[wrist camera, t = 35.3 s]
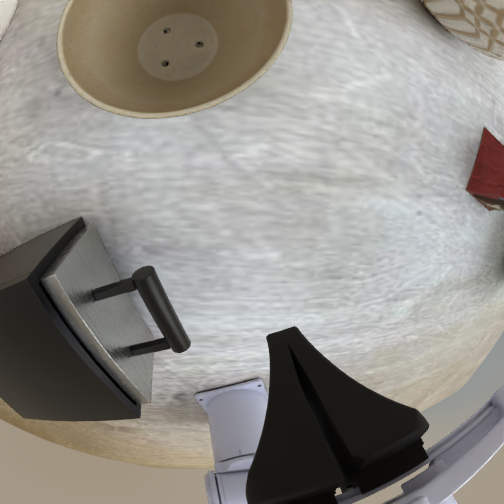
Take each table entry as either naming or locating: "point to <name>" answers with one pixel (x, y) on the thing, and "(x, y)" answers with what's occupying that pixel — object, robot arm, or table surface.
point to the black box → (48, 344)
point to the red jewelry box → (488, 173)
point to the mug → (6, 14)
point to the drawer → (112, 312)
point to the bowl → (168, 51)
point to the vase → (473, 23)
